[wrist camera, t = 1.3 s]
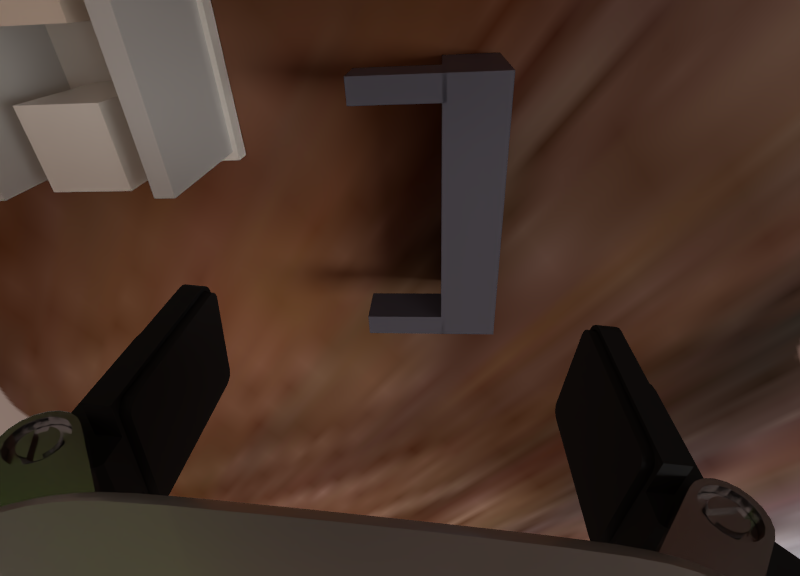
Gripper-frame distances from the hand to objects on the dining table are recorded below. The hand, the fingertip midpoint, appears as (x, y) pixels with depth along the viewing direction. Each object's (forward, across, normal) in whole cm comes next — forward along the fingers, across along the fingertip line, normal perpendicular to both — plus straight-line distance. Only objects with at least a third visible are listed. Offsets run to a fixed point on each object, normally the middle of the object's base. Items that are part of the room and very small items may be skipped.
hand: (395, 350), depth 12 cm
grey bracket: (+18, -1, +2) cm, 18 cm away
